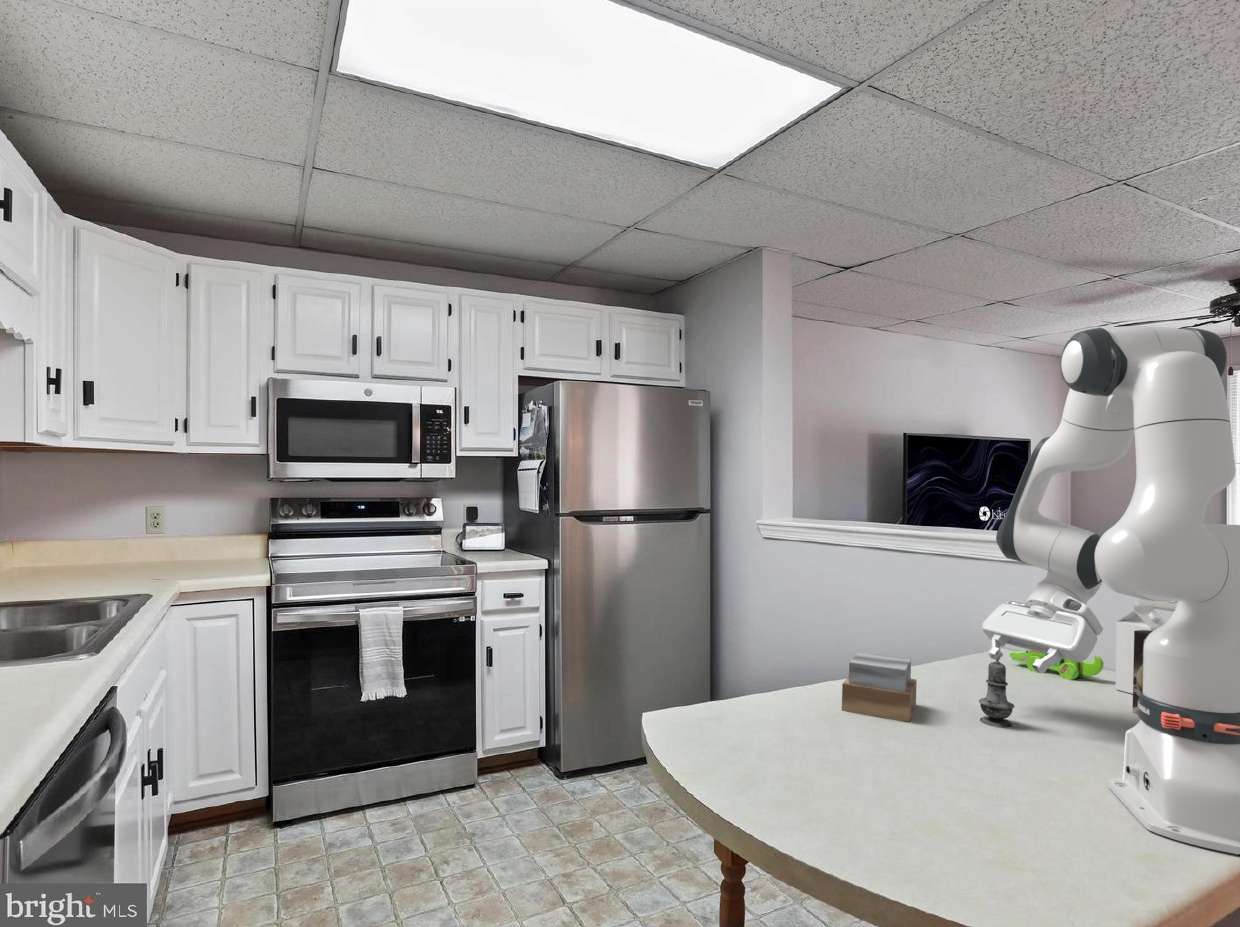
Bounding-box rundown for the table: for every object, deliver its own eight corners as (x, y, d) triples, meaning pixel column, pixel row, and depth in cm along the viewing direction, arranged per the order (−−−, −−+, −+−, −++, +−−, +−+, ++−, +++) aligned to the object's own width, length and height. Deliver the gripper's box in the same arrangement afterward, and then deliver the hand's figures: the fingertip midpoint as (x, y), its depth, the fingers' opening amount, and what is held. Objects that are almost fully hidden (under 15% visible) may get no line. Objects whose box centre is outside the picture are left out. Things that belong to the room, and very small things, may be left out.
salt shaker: (1011, 730, 128) (1012, 663, 129) (975, 722, 132) (976, 657, 132) (1016, 722, 133) (1017, 657, 133) (981, 715, 137) (983, 651, 137)
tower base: (909, 722, 131) (910, 672, 131) (841, 710, 137) (842, 662, 137) (915, 704, 142) (917, 658, 142) (853, 694, 147) (854, 650, 147)
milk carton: (1114, 690, 157) (1116, 603, 158) (1134, 687, 160) (1136, 601, 161) (1150, 699, 151) (1151, 609, 151) (1170, 696, 154) (1171, 607, 154)
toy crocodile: (1005, 665, 177) (1006, 641, 177) (1019, 662, 181) (1019, 638, 181) (1094, 686, 161) (1095, 658, 161) (1107, 682, 164) (1108, 655, 165)
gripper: (997, 589, 147) (960, 640, 143) (1096, 607, 128) (1056, 666, 124) (1012, 610, 149) (976, 661, 145) (1112, 631, 130) (1074, 690, 126)
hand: (1014, 663), depth 134 cm, fingers open, 8 cm apart
